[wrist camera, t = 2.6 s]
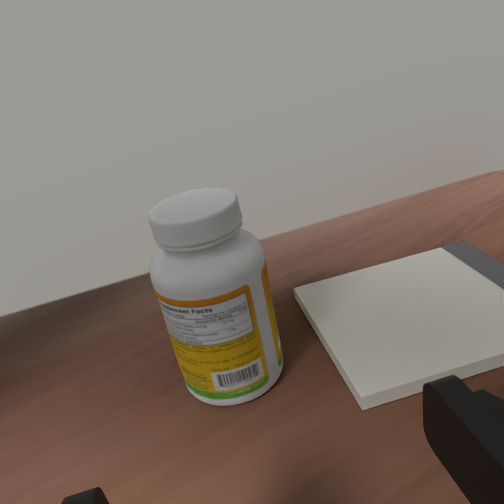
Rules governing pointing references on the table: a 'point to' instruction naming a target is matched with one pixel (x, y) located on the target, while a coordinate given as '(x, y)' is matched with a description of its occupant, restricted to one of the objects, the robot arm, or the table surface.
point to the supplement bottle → (215, 297)
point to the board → (410, 321)
